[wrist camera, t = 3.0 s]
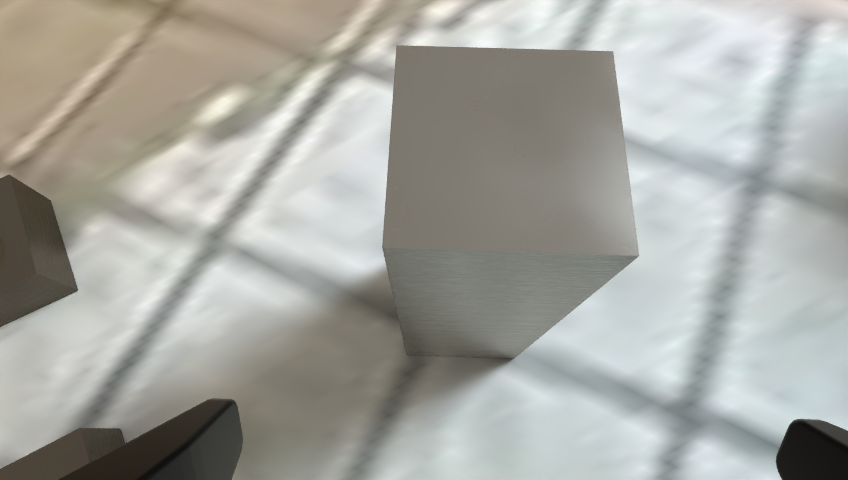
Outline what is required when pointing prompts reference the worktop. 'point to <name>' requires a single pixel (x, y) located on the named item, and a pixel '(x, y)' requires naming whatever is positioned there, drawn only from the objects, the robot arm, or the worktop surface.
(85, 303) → the worktop surface
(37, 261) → the chain ends
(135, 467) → the robot arm
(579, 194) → the tall metal block
